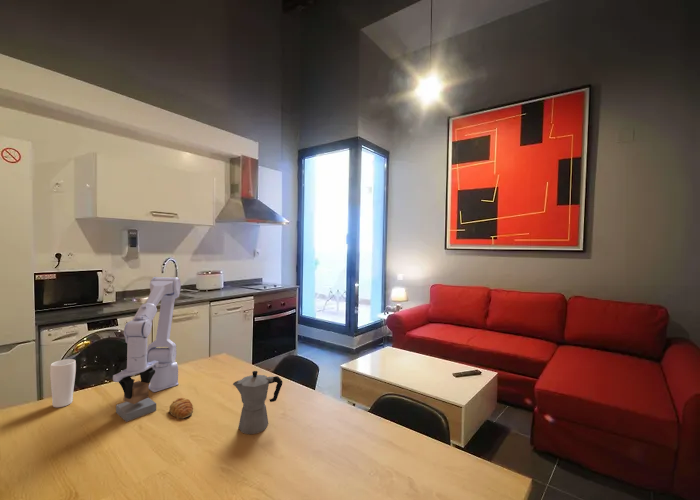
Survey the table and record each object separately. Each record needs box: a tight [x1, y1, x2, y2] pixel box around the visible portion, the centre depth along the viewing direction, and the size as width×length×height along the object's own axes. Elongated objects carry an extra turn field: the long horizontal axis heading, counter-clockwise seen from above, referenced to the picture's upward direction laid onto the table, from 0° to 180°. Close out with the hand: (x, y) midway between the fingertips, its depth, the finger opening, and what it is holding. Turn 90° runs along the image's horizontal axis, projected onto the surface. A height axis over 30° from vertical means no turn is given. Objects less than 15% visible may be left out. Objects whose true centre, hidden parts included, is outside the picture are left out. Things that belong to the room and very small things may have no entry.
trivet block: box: [115, 396, 157, 423], centre depth 109 cm, size 9×9×3 cm
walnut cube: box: [123, 380, 150, 404], centre depth 109 cm, size 5×5×5 cm
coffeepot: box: [232, 370, 283, 435], centre depth 103 cm, size 15×9×18 cm, turn 107°
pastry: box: [169, 397, 194, 420], centre depth 109 cm, size 9×7×4 cm
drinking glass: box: [49, 358, 77, 408], centre depth 112 cm, size 7×7×15 cm
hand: (136, 394), depth 109 cm, fingers closed on walnut cube, 5 cm apart
